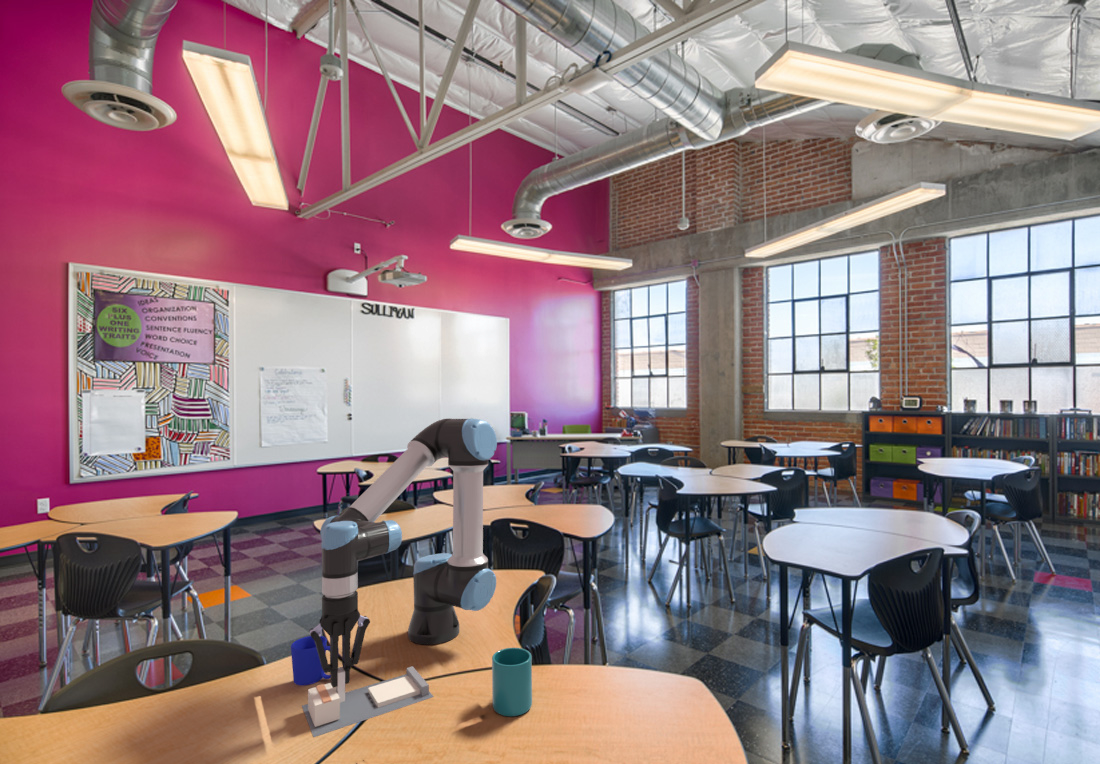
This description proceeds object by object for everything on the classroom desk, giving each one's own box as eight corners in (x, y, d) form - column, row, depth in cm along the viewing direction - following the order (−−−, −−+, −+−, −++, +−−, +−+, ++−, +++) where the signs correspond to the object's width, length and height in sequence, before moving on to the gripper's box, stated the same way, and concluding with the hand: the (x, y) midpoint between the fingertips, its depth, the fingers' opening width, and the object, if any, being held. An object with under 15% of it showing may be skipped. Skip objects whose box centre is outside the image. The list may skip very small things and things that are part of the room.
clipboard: (412, 676, 136) (412, 663, 136) (433, 701, 125) (433, 687, 125) (301, 711, 122) (301, 695, 122) (313, 743, 110) (313, 726, 110)
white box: (331, 701, 122) (331, 681, 123) (339, 718, 116) (339, 697, 116) (308, 709, 120) (308, 688, 120) (314, 727, 113) (315, 704, 113)
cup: (535, 689, 129) (535, 642, 130) (529, 718, 117) (528, 666, 118) (498, 688, 130) (498, 641, 131) (488, 717, 118) (488, 665, 119)
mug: (327, 694, 128) (327, 652, 129) (283, 690, 131) (283, 648, 131) (347, 677, 136) (347, 637, 137) (305, 673, 139) (305, 634, 139)
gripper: (365, 582, 127) (365, 683, 127) (305, 593, 120) (305, 701, 119) (374, 591, 121) (374, 697, 120) (312, 604, 114) (312, 717, 113)
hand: (340, 699), depth 120 cm, fingers closed
